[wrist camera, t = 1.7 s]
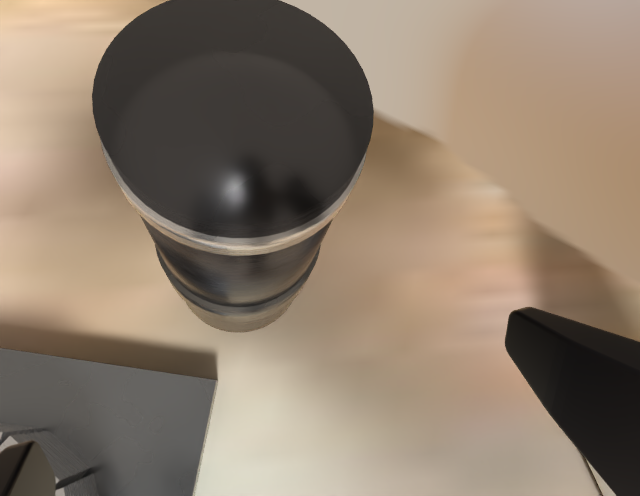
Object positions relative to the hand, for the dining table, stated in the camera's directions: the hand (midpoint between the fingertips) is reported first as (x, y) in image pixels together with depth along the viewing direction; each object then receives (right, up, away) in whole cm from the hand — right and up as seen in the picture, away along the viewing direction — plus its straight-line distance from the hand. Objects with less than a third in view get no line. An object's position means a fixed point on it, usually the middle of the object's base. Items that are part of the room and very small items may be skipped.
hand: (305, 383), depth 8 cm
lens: (-3, +1, +13) cm, 13 cm away
